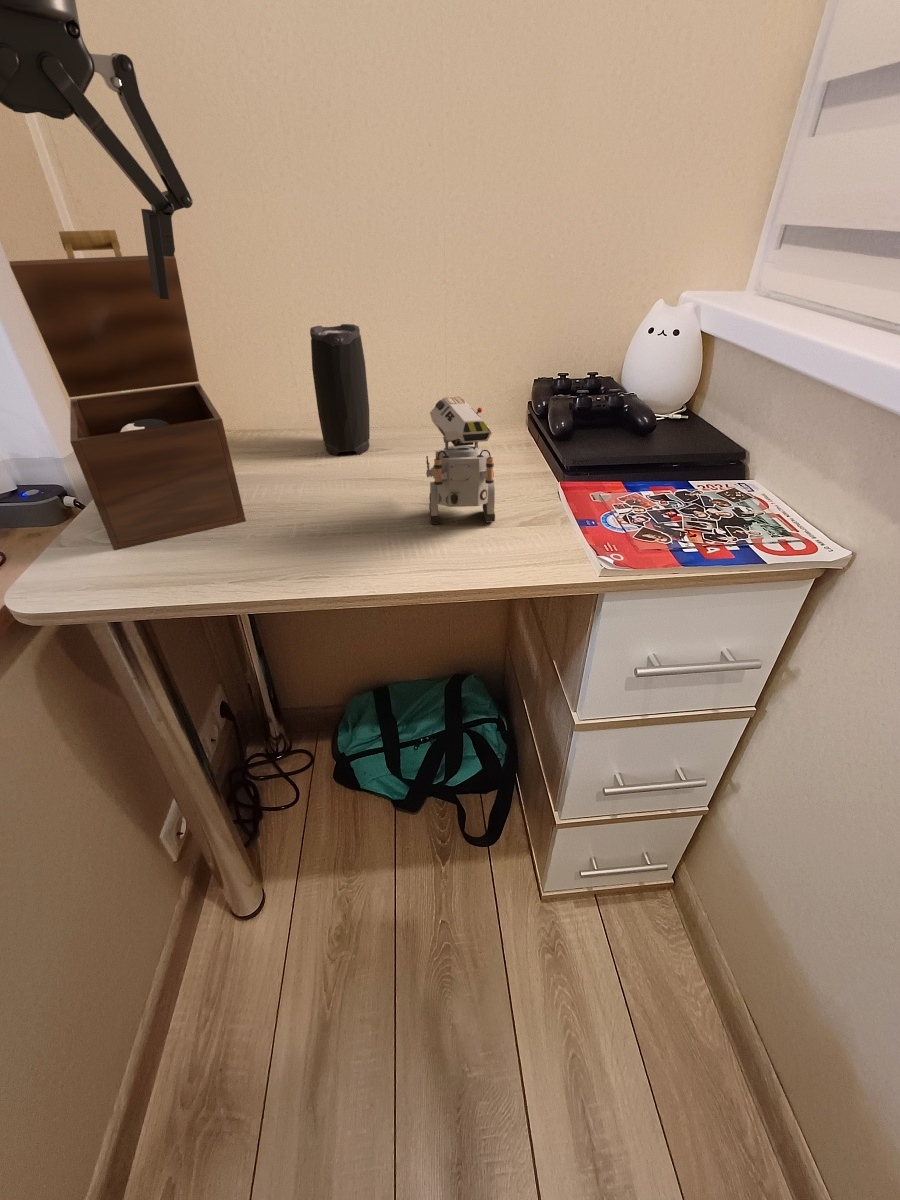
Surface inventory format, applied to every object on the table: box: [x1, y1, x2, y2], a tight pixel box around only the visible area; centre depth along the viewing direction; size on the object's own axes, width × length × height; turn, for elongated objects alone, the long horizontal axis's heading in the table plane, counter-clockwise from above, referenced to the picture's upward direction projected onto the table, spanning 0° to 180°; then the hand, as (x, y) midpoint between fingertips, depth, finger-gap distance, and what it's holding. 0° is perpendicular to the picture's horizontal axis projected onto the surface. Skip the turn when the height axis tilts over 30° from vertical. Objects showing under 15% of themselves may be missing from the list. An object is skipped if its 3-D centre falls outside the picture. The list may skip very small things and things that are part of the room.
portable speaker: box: [309, 323, 371, 456], centre depth 95 cm, size 9×9×20 cm
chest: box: [69, 382, 247, 551], centre depth 78 cm, size 18×17×14 cm
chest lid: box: [8, 229, 200, 398], centre depth 73 cm, size 18×17×9 cm
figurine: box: [425, 396, 496, 525], centre depth 77 cm, size 9×12×15 cm
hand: (76, 293), depth 50 cm, fingers open, 13 cm apart
